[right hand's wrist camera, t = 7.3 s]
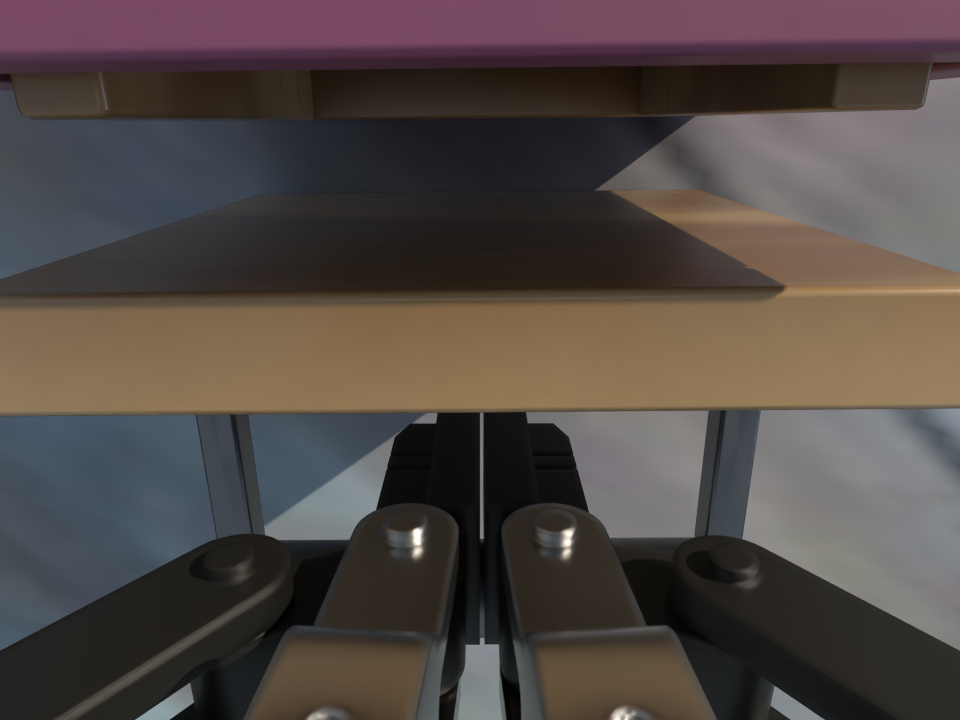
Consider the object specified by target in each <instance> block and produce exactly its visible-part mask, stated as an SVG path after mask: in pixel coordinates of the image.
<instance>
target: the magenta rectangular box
mask: <svg viewBox="0 0 960 720" xmlns="http://www.w3.org/2000/svg"><path fill="white" fill-rule="evenodd" d="M926 62H933V65H932V70H931V75H930V80H935V79H946V78H957V77H960V0H0V90H9V91H14V90H13V85H12V81H11V77H10V74H20V73H103V72H185V71H267V70H350V69H432V68H514V67H597V66H679V65H761V64H844V63H926Z"/></svg>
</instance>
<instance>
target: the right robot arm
mask: <svg viewBox="0 0 960 720" xmlns="http://www.w3.org/2000/svg"><path fill="white" fill-rule="evenodd" d="M387 467H388V468H387V470H386V474H385V478H384V482H383V486H382V489H381V493H380V497H379V501H378V505H377V509H376V511H373V512H372V513H370V514H368V515H367V516H365V517H364V518H363V519H362V520H361V521H360V522H359V523H358V524H357V525H356V527H355V529H354V531H353V533H352V536H351V538H350V540H349V543H348V545H347V547H346V548H344V549H342V550H339V551H337V552H334V553H331V554H328V555H324V556H320V557H315V558H310V559H306V560H301V561H296V562H292V563H291V562H290V554H289V552H288V549H287V548H286V546H285V545H284V544H283V543H281V542H280V541H279V540H277V539H275V538H273V537H269V536H266V535H260V534H237V535H231V536H226V537H223V538H219V539H216V540H213V541H210V542H208V543H206V544H203V545H201V546H199V547H197V548H195V549H193V550H192V551H190V552H188V553H186V554H184V555H182V556H180V557H178V558H176V559H174V560H172V561H171V562H169V563H167V564H165V565H163V566H161V567H159V568H157V569H155V570H153V571H152V572H150V573H148V574H146V575H144V576H142V577H140V578H138V579H136V580H134V581H132V582H131V583H129V584H127V585H125V586H123V587H121V588H119V589H117V590H115V591H113V592H111V593H110V594H108V595H106V596H104V597H102V598H100V599H98V600H96V601H94V602H92V603H91V604H89V605H87V606H85V607H83V608H81V609H79V610H77V611H75V612H73V613H71V614H70V615H68V616H66V617H64V618H62V619H60V620H58V621H56V622H54V623H52V624H50V625H49V626H47V627H45V628H43V629H41V630H39V631H37V632H35V633H33V634H31V635H29V636H28V637H26V638H24V639H22V640H20V641H18V642H16V643H14V644H12V645H10V646H9V647H7V648H5V649H3V650H1V651H0V720H135V719H137V718H138V717H140V716H141V715H143V714H144V713H146V712H147V711H149V710H150V709H152V708H153V707H154V706H156V705H157V704H159V703H160V702H162V701H163V700H165V699H166V698H168V697H169V696H171V695H172V694H174V693H175V692H177V691H178V690H179V689H181V688H182V687H184V686H185V685H187V684H188V683H190V684H191V689H192V694H193V699H194V703H193V704H191V705H190V706H188V707H187V708H186V709H184V710H183V711H181V712H180V713H179V714H177V715H176V716H174V717H173V718H171V719H170V720H458V712H459V704H460V695H461V676H462V673H463V671H464V667H465V650H466V645H480V412H461V413H438V415H437V422H436V424H409V425H408V426H407V427H406V428H405V429H404V430H403V431H401V432H400V433H399V434H398V435H397V436H396V437H395V439H394V443H393V447H392V451H391V456H390V458H389V462H388V466H387ZM483 509H484V626H485V644H499V658H500V677H499V695H500V704H501V712H502V720H790V719H789V718H787V717H786V716H784V715H783V714H781V713H780V712H779V711H777V710H776V709H774V708H773V707H772V706H770V705H771V700H772V695H773V690H774V686H776V687H778V688H779V689H781V690H782V691H783V692H785V693H786V694H788V695H789V696H791V697H792V698H794V699H795V700H797V701H798V702H800V703H801V704H803V705H804V706H806V707H807V708H809V709H810V710H811V711H813V712H814V713H816V714H817V715H819V716H820V717H822V718H823V719H825V720H960V651H959V650H957V649H955V648H953V647H952V646H950V645H948V644H946V643H944V642H942V641H940V640H938V639H936V638H934V637H932V636H931V635H929V634H927V633H925V632H923V631H921V630H919V629H917V628H915V627H913V626H911V625H910V624H908V623H906V622H904V621H902V620H900V619H898V618H896V617H894V616H892V615H890V614H889V613H887V612H885V611H883V610H881V609H879V608H877V607H875V606H873V605H871V604H870V603H868V602H866V601H864V600H862V599H860V598H858V597H856V596H854V595H852V594H850V593H849V592H847V591H845V590H843V589H841V588H839V587H837V586H835V585H833V584H831V583H829V582H828V581H826V580H824V579H822V578H820V577H818V576H816V575H814V574H812V573H810V572H808V571H807V570H805V569H803V568H801V567H799V566H797V565H795V564H793V563H791V562H789V561H788V560H786V559H784V558H782V557H780V556H778V555H776V554H774V553H772V552H770V551H768V550H767V549H765V548H763V547H761V546H758V545H756V544H754V543H751V542H749V541H746V540H742V539H739V538H735V537H729V536H721V535H705V536H699V537H695V538H691V539H689V540H687V541H685V542H683V543H682V544H680V545H679V546H678V547H677V549H676V550H675V552H674V555H673V559H672V562H670V561H665V560H660V559H656V558H651V557H646V556H642V555H638V554H634V553H632V552H629V551H626V550H624V549H622V548H619V547H617V546H615V545H614V544H612V543H611V540H610V538H609V536H608V533H607V531H606V529H605V527H604V525H603V524H602V523H601V522H600V521H599V520H598V519H597V518H596V517H595V516H593V515H592V514H590V513H589V511H588V507H587V503H586V500H585V496H584V492H583V488H582V485H581V481H580V477H579V474H578V470H577V469H576V462H575V459H574V456H573V451H572V448H571V444H570V440H569V437H568V436H567V435H566V434H565V433H563V432H562V431H561V430H560V429H559V428H558V427H557V426H556V425H554V424H553V423H527V416H526V412H484V438H483Z"/></svg>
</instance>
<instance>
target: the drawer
mask: <svg viewBox="0 0 960 720" xmlns="http://www.w3.org/2000/svg"><path fill="white" fill-rule="evenodd" d="M932 65H933V62H926V63H844V64H761V65H679V66H597V67H514V68H432V69H350V70H267V71H185V72H103V73H20V74H10V77H11V81H12V85H13V90H14V94H15V98H16V103H17V107H18V109H19V111H20V113H21V115H23V116H25V117H27V118H30V119H32V120H193V121H320V120H406V119H492V118H579V117H665V116H702V115H739V114H775V113H811V112H847V111H884V110H916V109H918V108H921V107H923V105H924V103H925V100H926V95H927V90H928V85H929V80H930V75H931V70H932ZM942 408H960V274H959V273H956V272H953V271H950V270H947V269H944V268H940V267H937V266H934V265H931V264H928V263H925V262H922V261H918V260H915V259H912V258H909V257H906V256H903V255H900V254H896V253H893V252H890V251H887V250H884V249H881V248H878V247H875V246H871V245H868V244H865V243H862V242H859V241H856V240H853V239H849V238H846V237H843V236H840V235H837V234H834V233H831V232H828V231H824V230H821V229H818V228H815V227H812V226H809V225H806V224H802V223H799V222H796V221H793V220H790V219H787V218H784V217H780V216H777V215H774V214H771V213H768V212H765V211H762V210H759V209H755V208H752V207H749V206H746V205H743V204H740V203H737V202H733V201H730V200H727V199H724V198H721V197H718V196H715V195H711V194H708V193H705V192H702V191H699V190H612V191H519V192H426V193H333V194H260V195H257V196H254V197H251V198H248V199H245V200H242V201H239V202H236V203H232V204H229V205H226V206H223V207H220V208H217V209H214V210H211V211H208V212H205V213H202V214H199V215H196V216H193V217H190V218H187V219H184V220H181V221H178V222H174V223H171V224H168V225H165V226H162V227H159V228H156V229H153V230H150V231H147V232H144V233H141V234H138V235H135V236H132V237H129V238H126V239H123V240H119V241H116V242H113V243H110V244H107V245H104V246H101V247H98V248H95V249H92V250H89V251H86V252H83V253H80V254H77V255H74V256H71V257H68V258H64V259H61V260H58V261H55V262H52V263H49V264H46V265H43V266H40V267H37V268H34V269H31V270H28V271H25V272H22V273H19V274H16V275H13V276H9V277H6V278H3V279H0V416H100V415H196V419H197V425H198V431H199V436H200V442H201V448H202V454H203V460H204V466H205V472H206V477H207V483H208V489H209V495H210V501H211V507H212V513H213V519H214V524H215V530H216V536H217V539H219V538H223V537H226V536H231V535H237V534H260V535H265V531H264V524H263V517H262V510H261V503H260V496H259V489H258V481H257V474H256V467H255V460H254V453H253V446H252V439H251V432H250V425H249V418H248V414H340V413H461V412H581V411H701V410H709V413H708V422H707V431H706V439H705V448H704V457H703V465H702V474H701V483H700V491H699V500H698V509H697V517H696V526H695V537H699V536H705V535H721V536H729V537H735V538H739V539H742V536H743V529H744V522H745V515H746V508H747V502H748V495H749V488H750V481H751V474H752V467H753V460H754V453H755V446H756V439H757V432H758V425H759V418H760V411H761V410H822V409H942ZM695 537H683V538H610V540H611V543H612V544H614V545H615V546H617V547H619V548H622V549H624V550H626V551H629V552H632V553H634V554H638V555H642V556H646V557H651V558H656V559H660V560H665V561H670V562H672V559H673V555H674V552H675V550H676V549H677V547H678V546H679V545H680V544H682V543H683V542H685V541H687V540H689V539H691V538H695ZM279 541H280V542H281V543H283V544H284V545H285V546H286V548H287V549H288V552H289V554H290V562H291V563H292V562H296V561H301V560H306V559H310V558H315V557H320V556H324V555H328V554H331V553H334V552H337V551H339V550H342V549H344V548H346V547H347V545H348V543H349V540H279ZM480 638H485V626H484V539H480Z"/></svg>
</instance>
